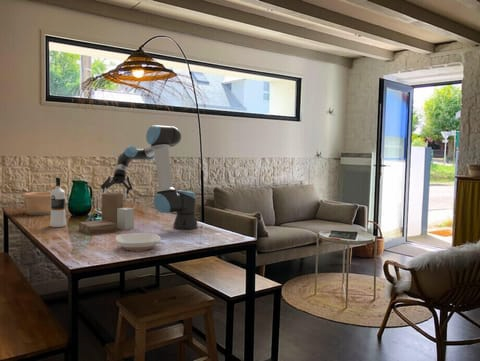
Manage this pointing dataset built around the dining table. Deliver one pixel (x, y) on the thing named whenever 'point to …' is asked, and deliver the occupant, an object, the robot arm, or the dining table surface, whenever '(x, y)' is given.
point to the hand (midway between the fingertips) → (114, 197)
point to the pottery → (38, 203)
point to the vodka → (58, 206)
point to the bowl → (138, 240)
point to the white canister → (125, 218)
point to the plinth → (97, 227)
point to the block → (111, 206)
